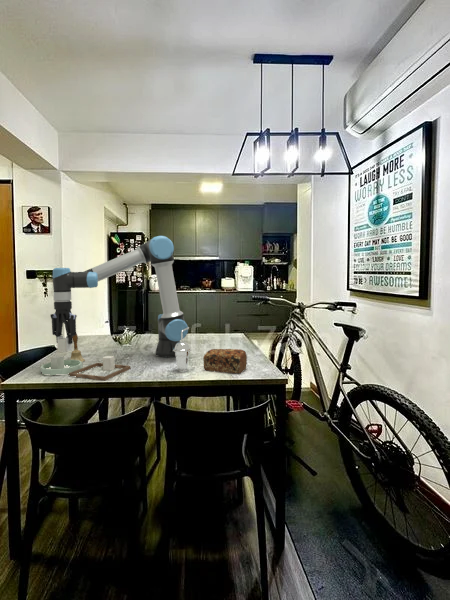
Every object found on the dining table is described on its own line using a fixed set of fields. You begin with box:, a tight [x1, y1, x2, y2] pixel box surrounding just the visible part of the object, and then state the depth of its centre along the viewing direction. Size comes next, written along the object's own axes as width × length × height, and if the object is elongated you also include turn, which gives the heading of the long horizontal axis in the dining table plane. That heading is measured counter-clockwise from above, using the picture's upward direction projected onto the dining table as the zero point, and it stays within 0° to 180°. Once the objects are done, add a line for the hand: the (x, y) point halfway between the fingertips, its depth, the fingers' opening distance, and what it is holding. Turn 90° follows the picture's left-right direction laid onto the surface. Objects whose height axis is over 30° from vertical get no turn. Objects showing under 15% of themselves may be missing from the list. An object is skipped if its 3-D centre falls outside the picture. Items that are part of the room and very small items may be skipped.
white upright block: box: [102, 355, 116, 371], centre depth 172 cm, size 4×4×6 cm
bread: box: [202, 348, 248, 374], centre depth 169 cm, size 19×11×10 cm, turn 66°
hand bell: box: [69, 332, 86, 363], centre depth 187 cm, size 8×8×16 cm
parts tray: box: [68, 362, 131, 381], centre depth 166 cm, size 20×19×2 cm
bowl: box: [39, 359, 84, 375], centre depth 170 cm, size 18×18×3 cm
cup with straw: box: [173, 326, 192, 373], centre depth 168 cm, size 8×9×20 cm
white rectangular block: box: [50, 354, 65, 369], centre depth 171 cm, size 4×4×6 cm
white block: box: [57, 337, 69, 353], centre depth 168 cm, size 4×4×6 cm
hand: (64, 350), depth 168 cm, fingers closed on white block, 4 cm apart
